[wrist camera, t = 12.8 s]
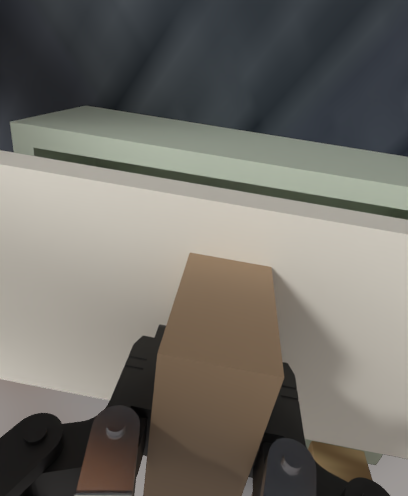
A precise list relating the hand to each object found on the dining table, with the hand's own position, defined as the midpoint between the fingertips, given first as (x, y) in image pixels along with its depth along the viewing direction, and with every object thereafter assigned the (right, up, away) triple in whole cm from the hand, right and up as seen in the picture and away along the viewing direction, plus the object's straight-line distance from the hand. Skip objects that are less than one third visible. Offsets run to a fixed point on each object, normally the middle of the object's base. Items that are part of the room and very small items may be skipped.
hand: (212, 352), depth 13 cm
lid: (0, +1, +2) cm, 3 cm away
